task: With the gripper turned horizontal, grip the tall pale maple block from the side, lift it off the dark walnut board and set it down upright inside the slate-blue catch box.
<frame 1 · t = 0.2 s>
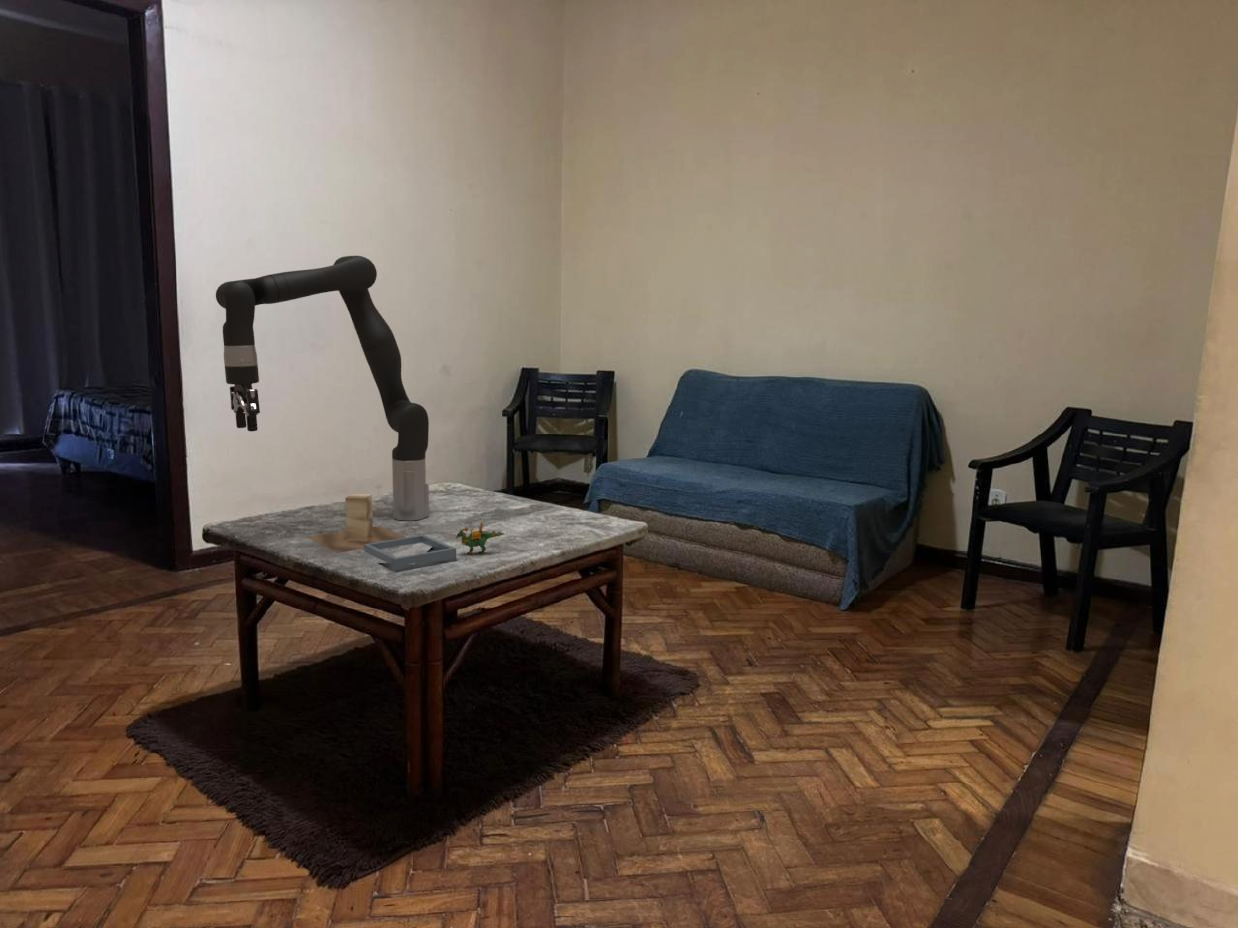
hand: (247, 429, 217), 29 cm above the table, tool pointing down, fingers open, 8 cm apart
figurine: (480, 554, 216), on the table
walnut board: (359, 544, 222), on the table
maple block: (359, 538, 222), point 1 cm above the table, touching walnut board
catch box: (410, 558, 210), on the table
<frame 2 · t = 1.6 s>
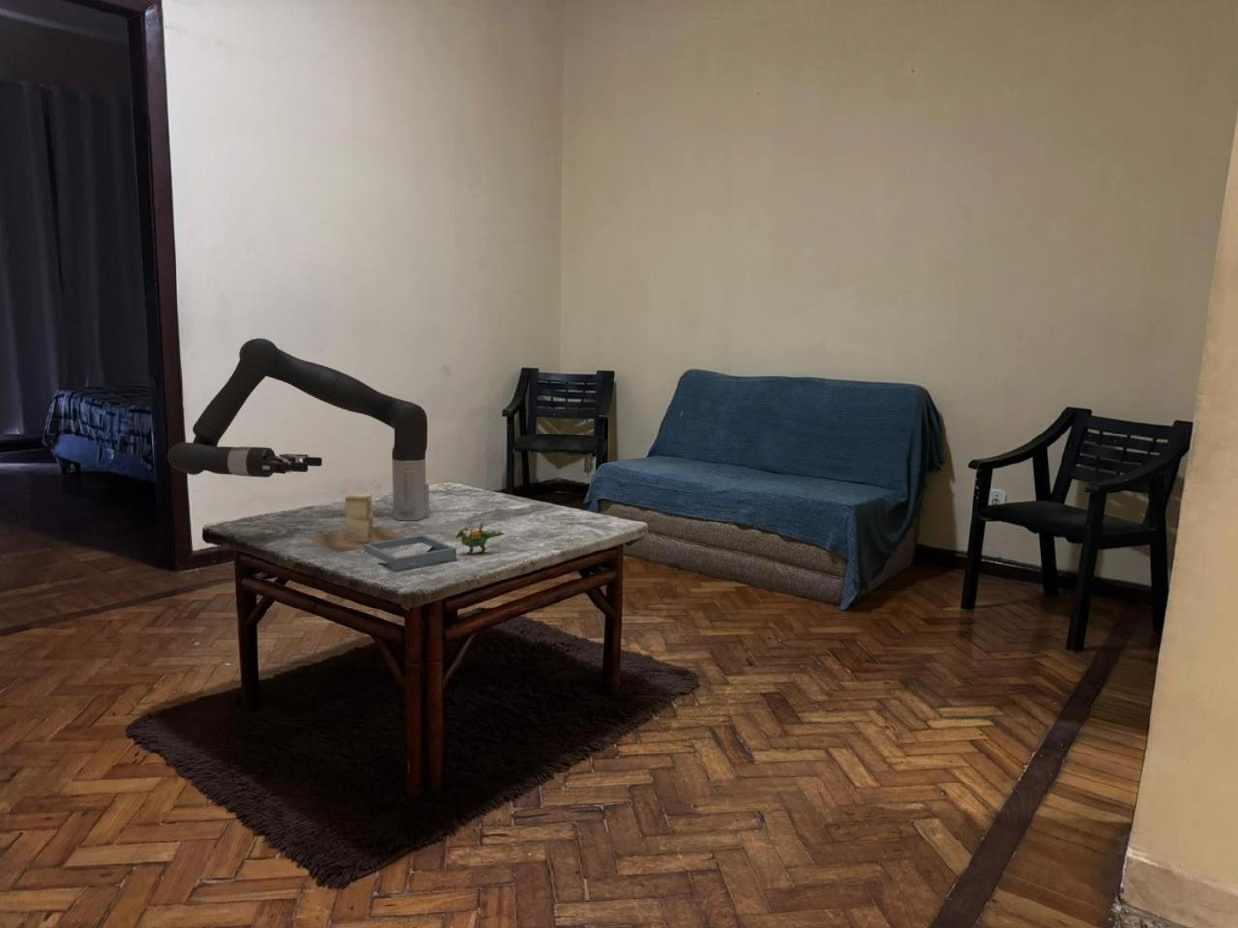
hand: (314, 464, 219), 20 cm above the table, tool horizontal, fingers open, 8 cm apart
nothing on the table moved.
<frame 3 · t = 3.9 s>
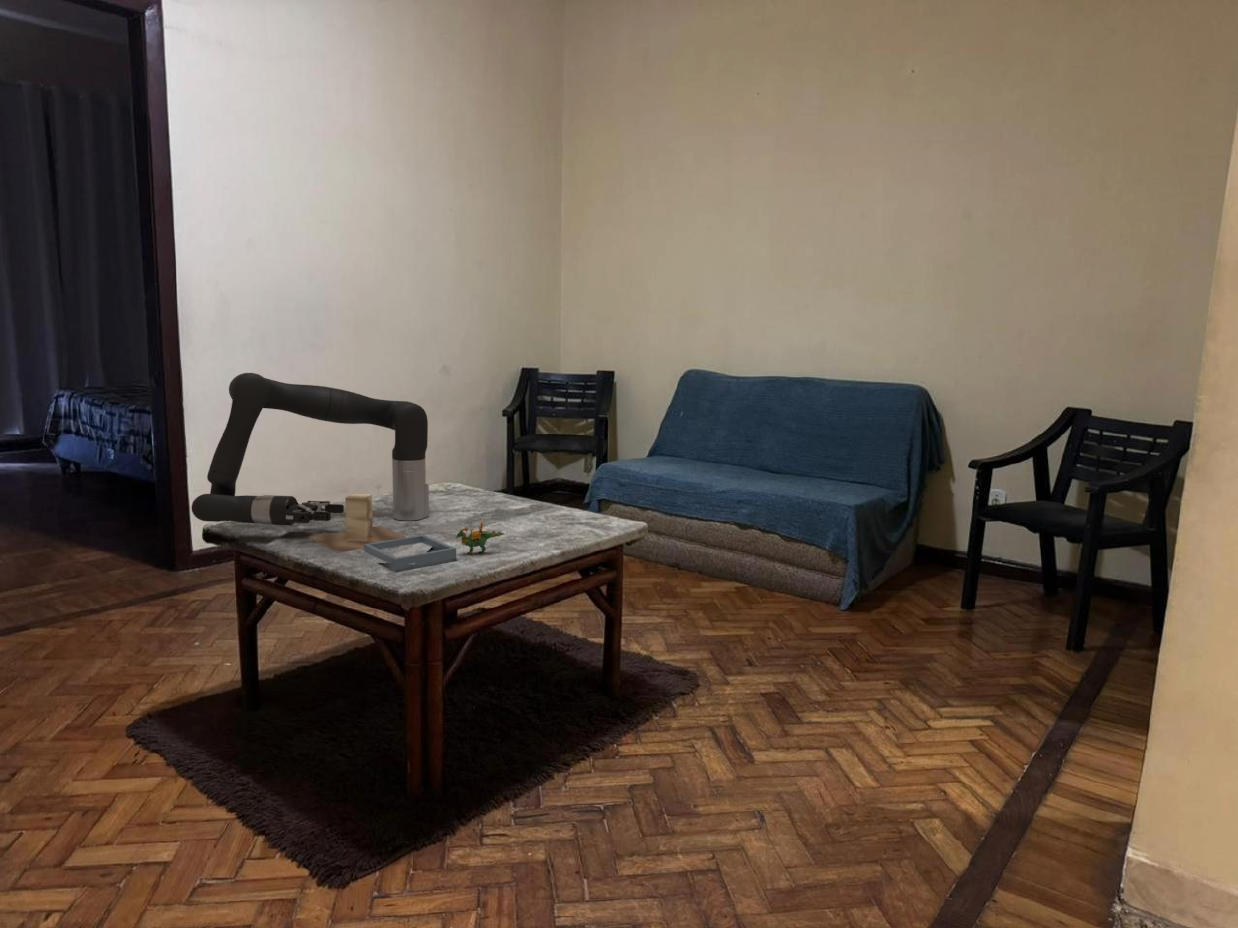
hand: (336, 512, 221), 8 cm above the table, tool horizontal, fingers open, 8 cm apart
nothing on the table moved.
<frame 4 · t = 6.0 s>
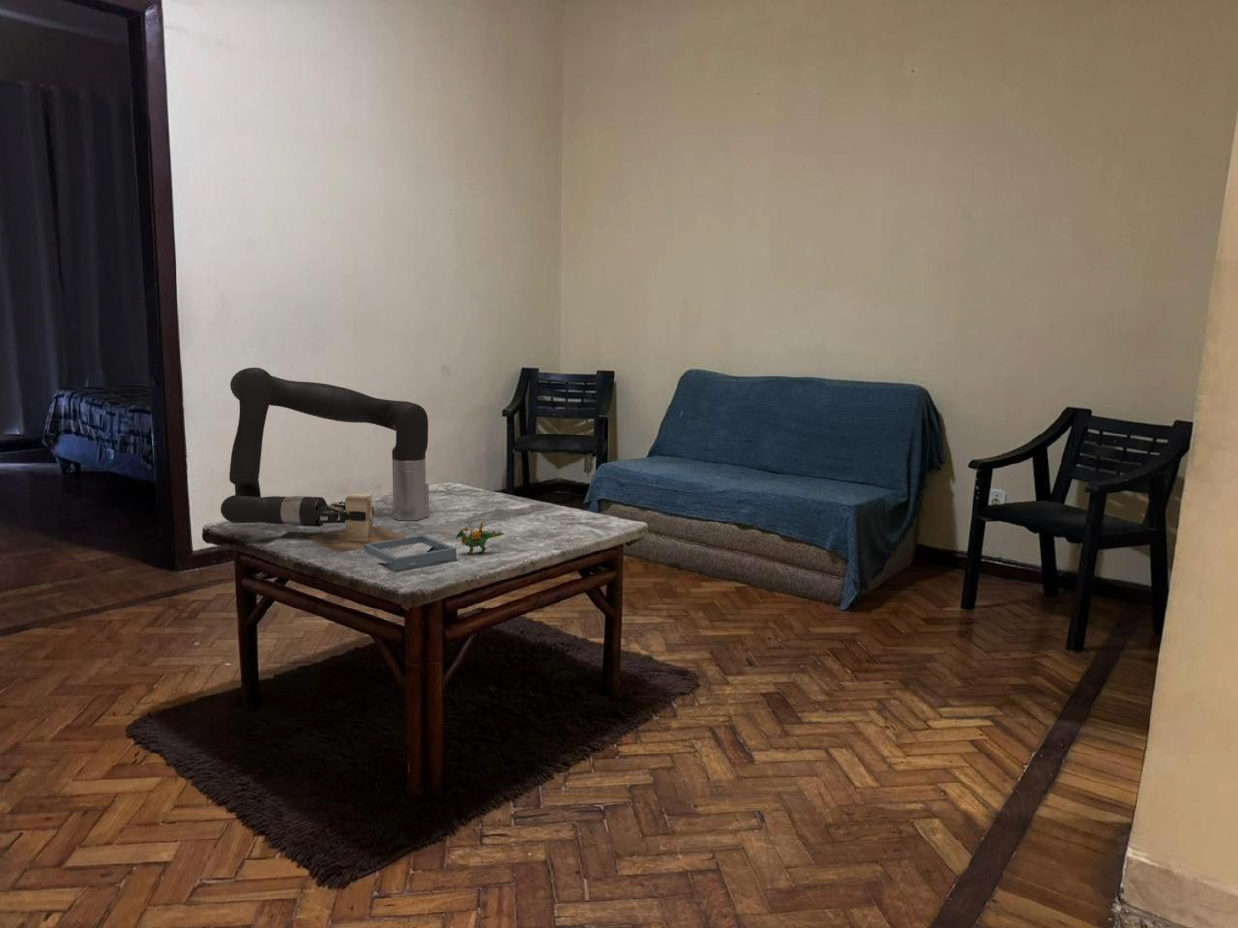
hand: (369, 513, 220), 8 cm above the table, tool horizontal, fingers closed on maple block, 5 cm apart
maple block: (359, 538, 222), point 1 cm above the table, touching gripper, walnut board
everything else where it was.
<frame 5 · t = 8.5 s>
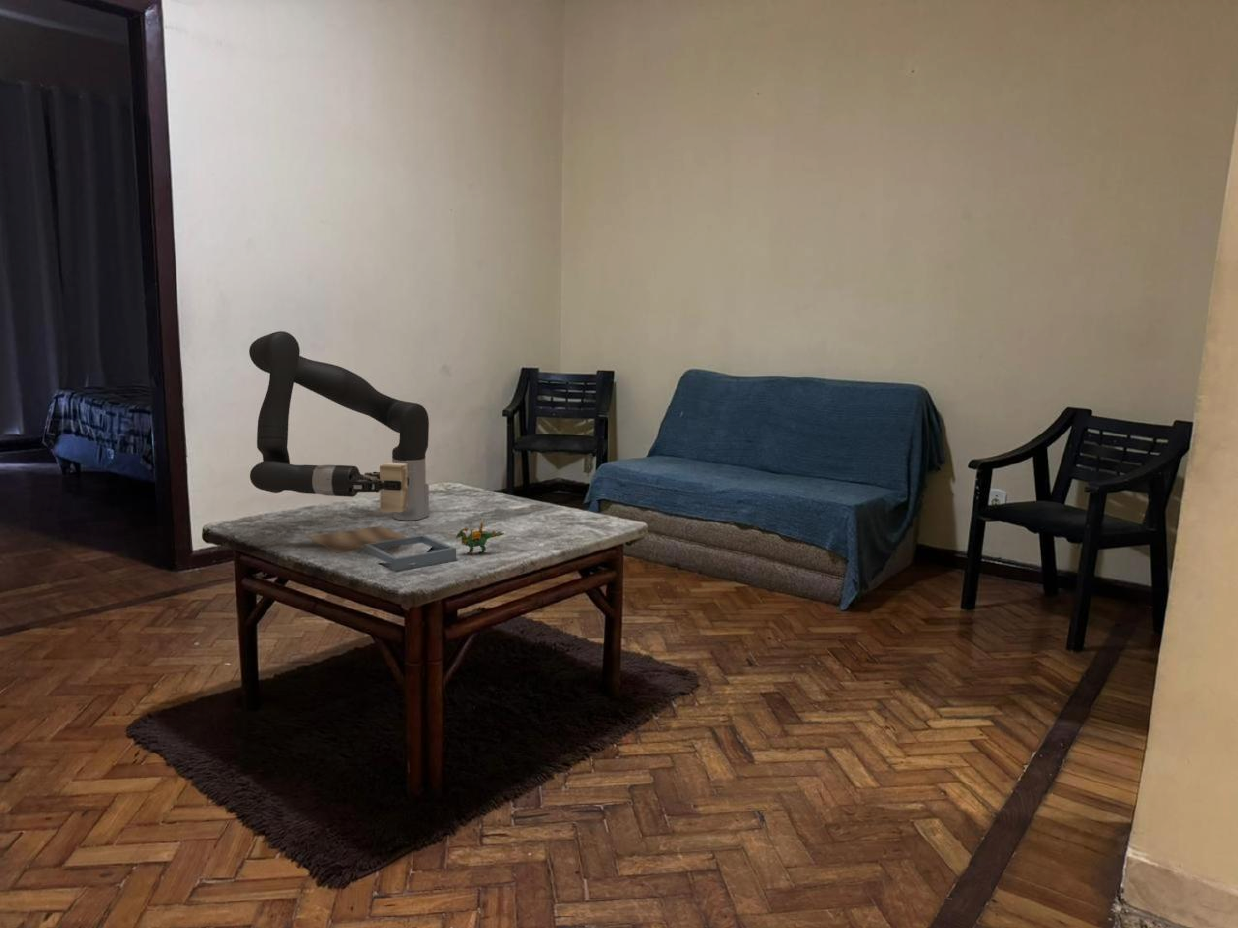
hand: (404, 483, 210), 18 cm above the table, tool horizontal, fingers closed on maple block, 5 cm apart
maple block: (394, 509, 211), point 11 cm above the table, touching gripper
everything else where it was.
when the fingers open (8 cm above the table, at t = 11.1 s): maple block drops 1 cm, resting on catch box.
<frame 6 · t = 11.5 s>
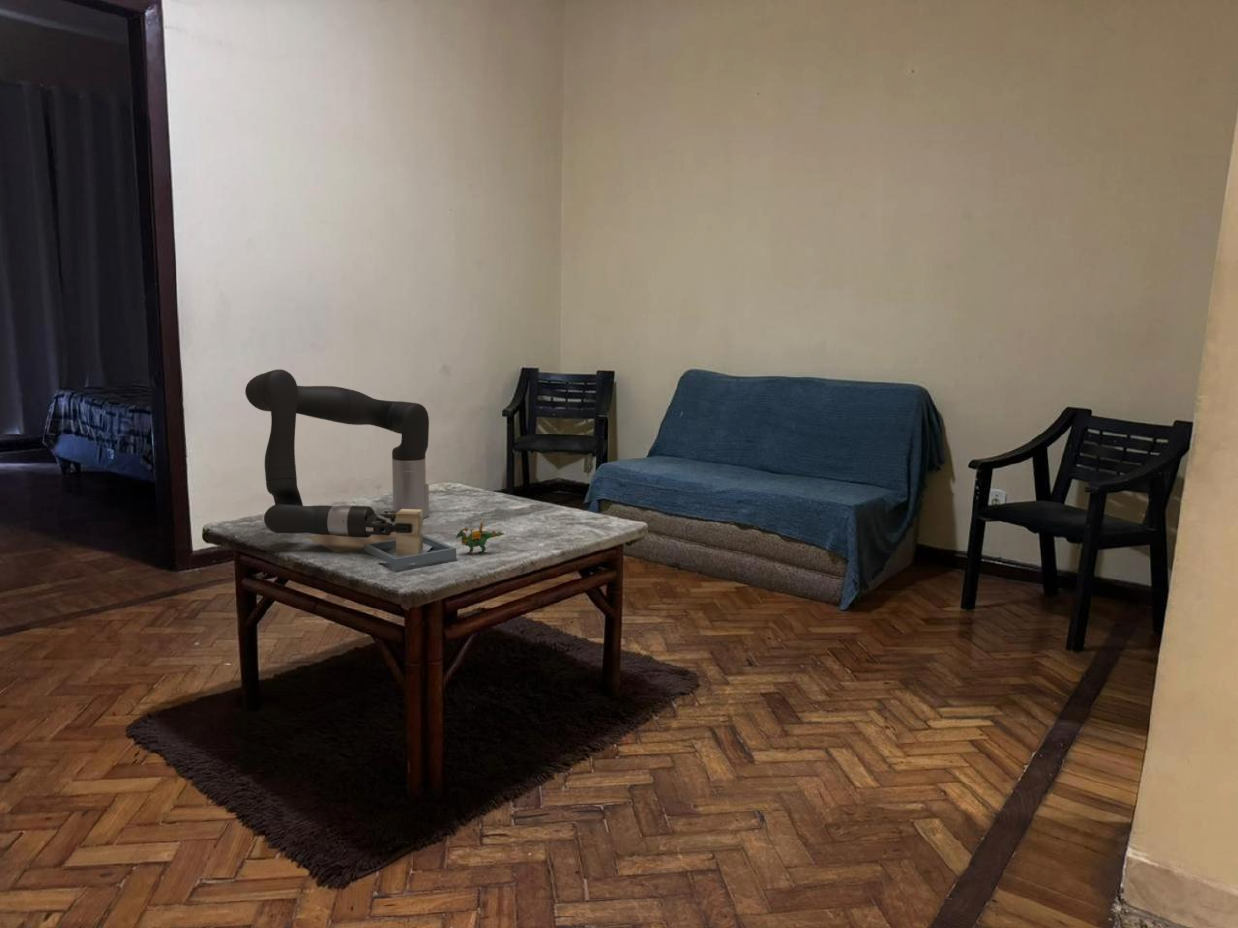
hand: (417, 524, 209), 9 cm above the table, tool horizontal, fingers open, 8 cm apart
maple block: (409, 555, 210), point 1 cm above the table, touching catch box
everything else where it was.
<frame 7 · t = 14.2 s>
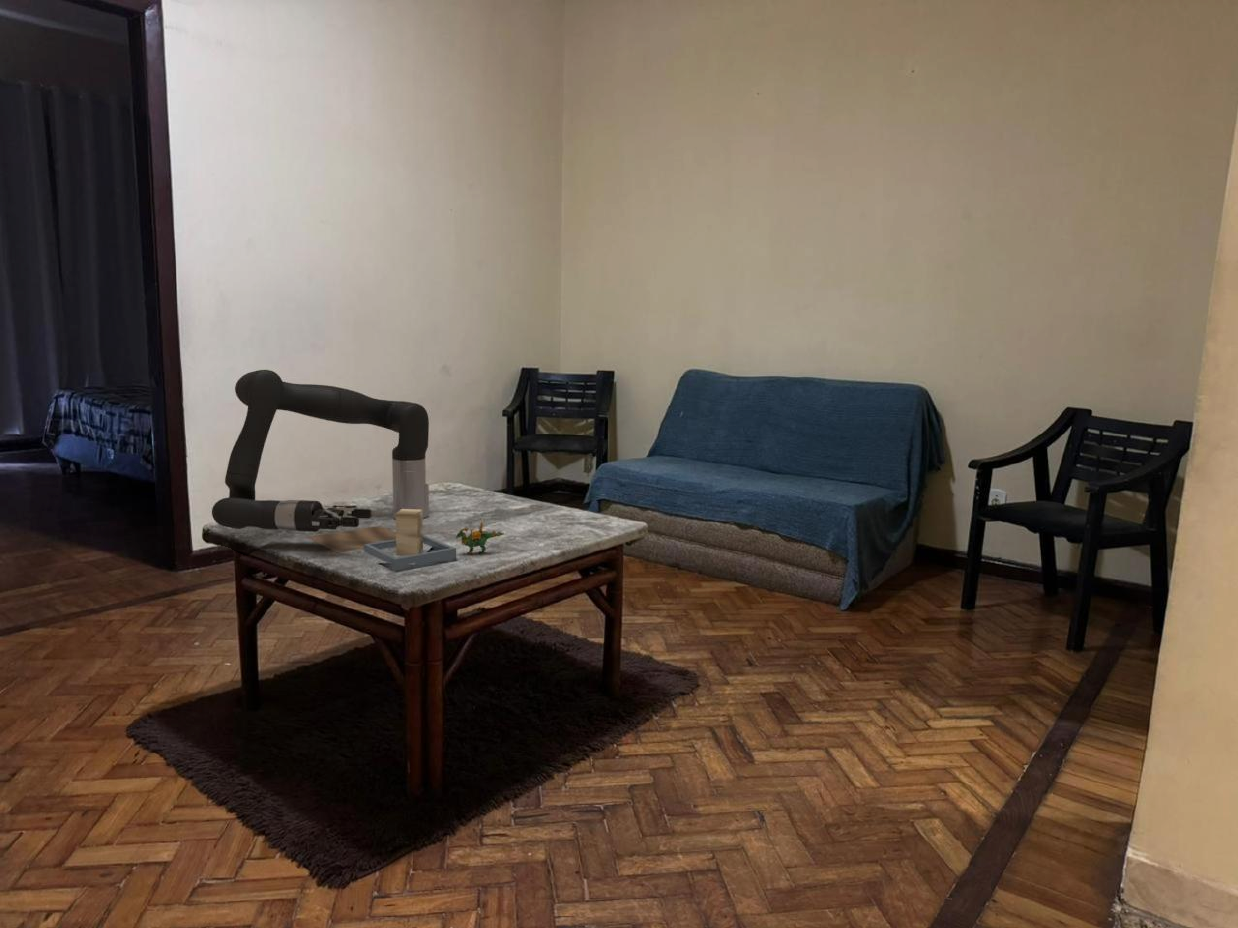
hand: (364, 518, 210), 9 cm above the table, tool horizontal, fingers open, 8 cm apart
nothing on the table moved.
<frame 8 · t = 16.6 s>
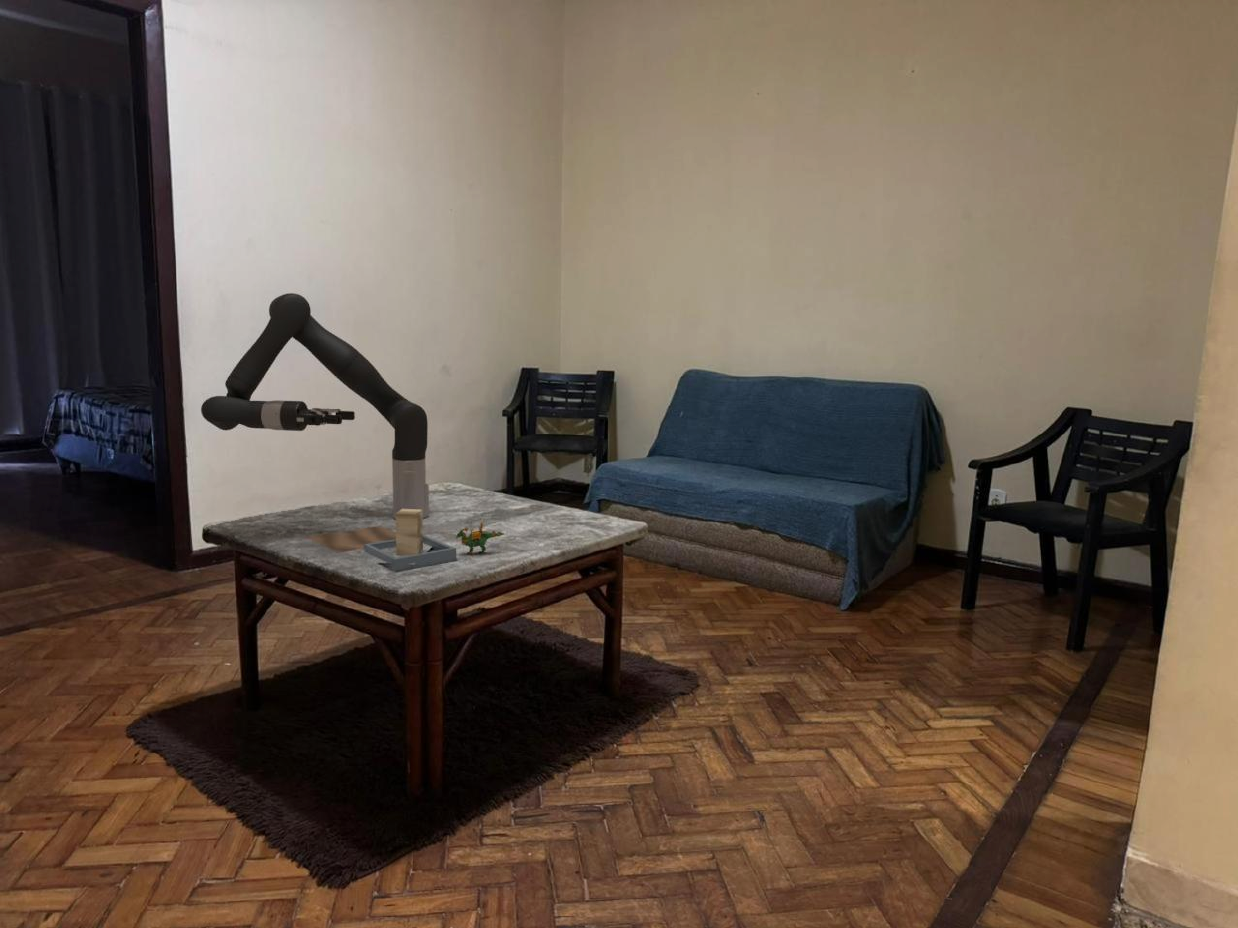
hand: (347, 417, 219), 32 cm above the table, tool horizontal, fingers open, 8 cm apart
nothing on the table moved.
at the end: maple block inside the target area on the catch box (0.1 cm from its centre), point 0.6 cm above the catch box's base; maple block tilted 0°; the gripper is holding nothing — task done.
